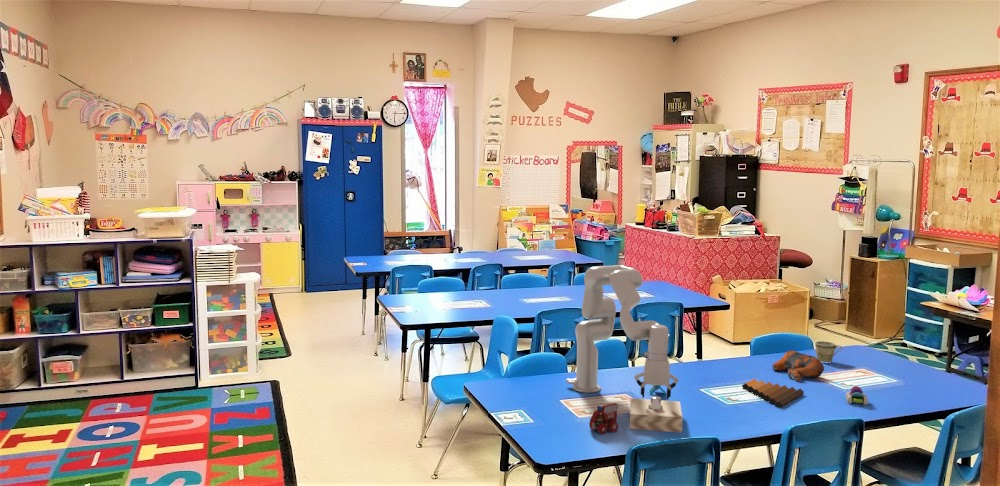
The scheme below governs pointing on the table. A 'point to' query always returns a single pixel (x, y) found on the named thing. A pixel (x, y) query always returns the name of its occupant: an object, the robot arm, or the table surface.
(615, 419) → the toy fire truck
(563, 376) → the table surface
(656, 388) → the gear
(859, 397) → the multicoloured small arched block
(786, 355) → the orange lumpy piece
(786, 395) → the pan flute
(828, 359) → the ceramic cup
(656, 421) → the hole block
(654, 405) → the steel peg
